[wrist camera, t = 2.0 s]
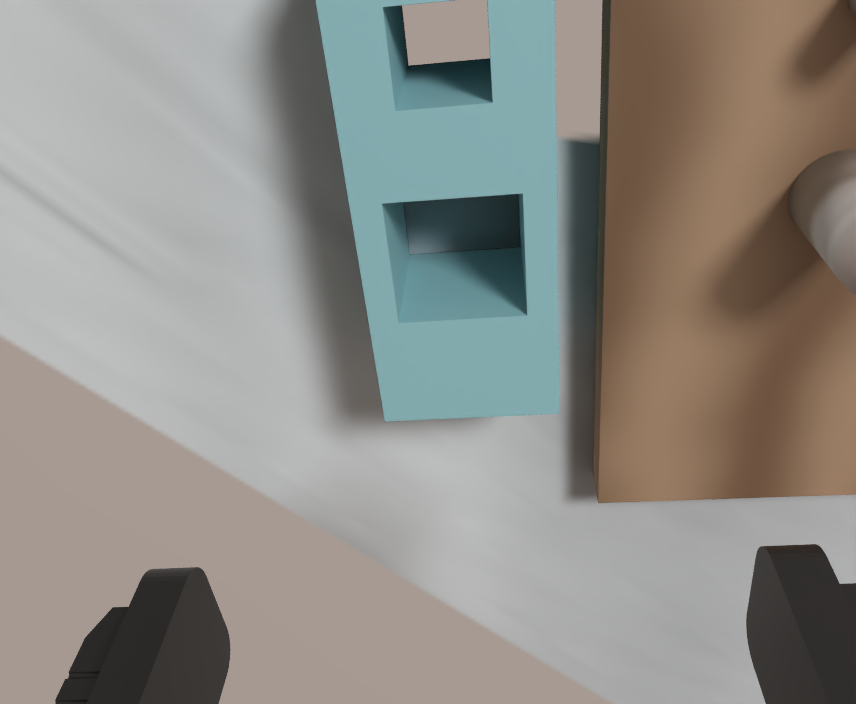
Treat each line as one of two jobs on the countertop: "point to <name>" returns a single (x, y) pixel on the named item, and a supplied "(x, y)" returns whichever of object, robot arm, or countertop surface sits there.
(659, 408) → the jig
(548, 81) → the teal slotted block
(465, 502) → the countertop surface
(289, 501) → the countertop surface
